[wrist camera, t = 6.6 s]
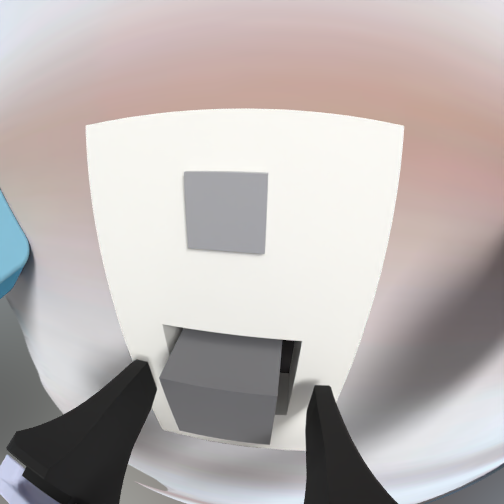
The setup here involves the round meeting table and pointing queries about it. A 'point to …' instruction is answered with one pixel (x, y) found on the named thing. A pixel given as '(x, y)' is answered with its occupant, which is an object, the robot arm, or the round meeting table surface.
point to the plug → (223, 385)
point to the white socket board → (246, 237)
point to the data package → (10, 248)
